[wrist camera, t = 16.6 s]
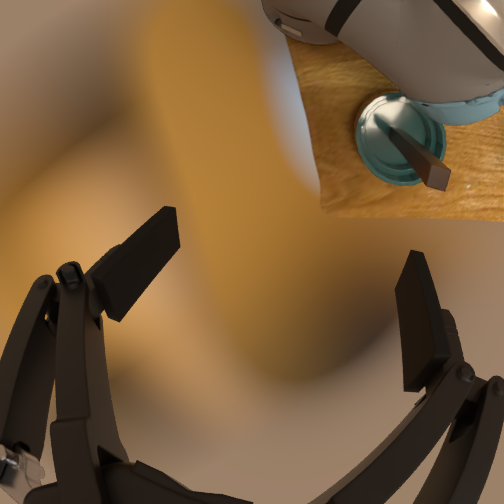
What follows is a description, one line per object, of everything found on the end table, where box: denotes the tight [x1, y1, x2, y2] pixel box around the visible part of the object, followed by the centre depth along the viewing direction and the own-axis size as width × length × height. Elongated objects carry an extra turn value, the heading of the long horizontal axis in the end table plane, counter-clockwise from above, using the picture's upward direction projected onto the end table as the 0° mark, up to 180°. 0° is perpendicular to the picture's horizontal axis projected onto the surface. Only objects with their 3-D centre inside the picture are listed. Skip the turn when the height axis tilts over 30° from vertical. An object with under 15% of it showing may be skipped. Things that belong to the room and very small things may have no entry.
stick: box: [389, 127, 451, 191], centre depth 27 cm, size 2×2×20 cm
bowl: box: [354, 91, 447, 186], centre depth 33 cm, size 13×13×6 cm
